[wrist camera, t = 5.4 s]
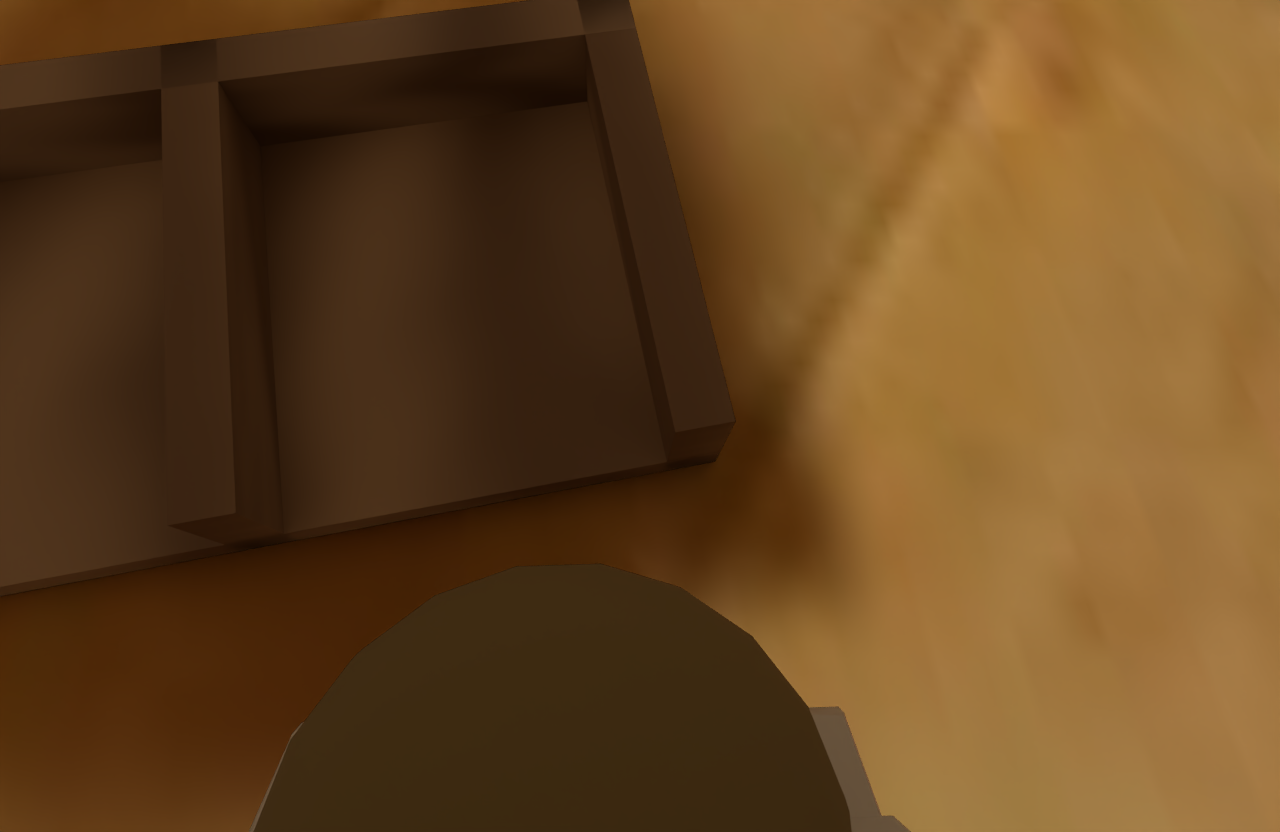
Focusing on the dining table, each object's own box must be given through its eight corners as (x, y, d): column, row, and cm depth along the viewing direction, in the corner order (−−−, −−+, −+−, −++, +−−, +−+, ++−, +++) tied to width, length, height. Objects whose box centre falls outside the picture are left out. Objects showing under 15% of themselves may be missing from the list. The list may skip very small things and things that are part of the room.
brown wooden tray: (623, 80, 21) (625, -12, 18) (715, 461, 18) (735, 421, 15) (-168, 187, 19) (-304, 102, 16) (-232, 639, 16) (-416, 632, 13)
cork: (468, 585, 17) (235, 440, 6) (745, 621, 17) (975, 534, 6) (408, 904, 15) (-75, 1466, 4) (720, 944, 15) (997, 1603, 4)
